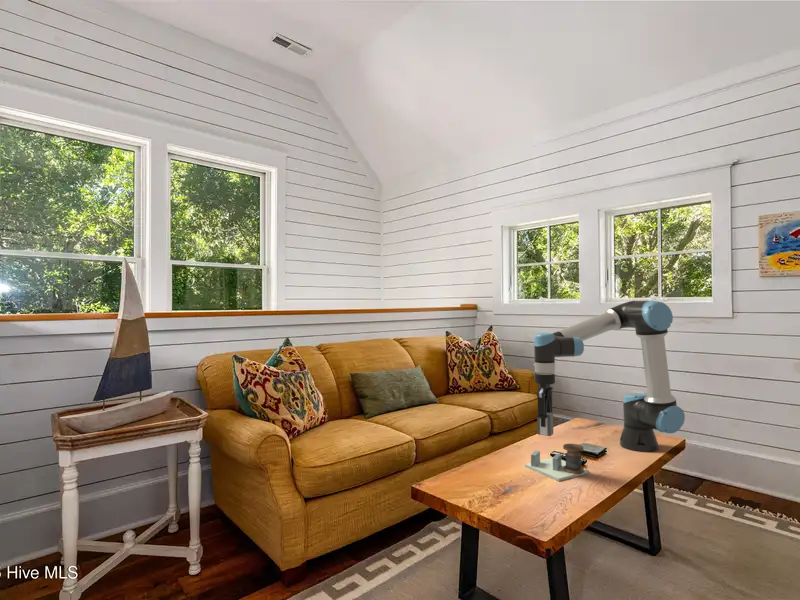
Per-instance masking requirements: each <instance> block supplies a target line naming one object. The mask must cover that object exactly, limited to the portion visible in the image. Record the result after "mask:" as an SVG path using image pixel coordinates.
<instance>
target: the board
mask: <svg viewBox="0 0 800 600" xmlns="http://www.w3.org/2000/svg"><path fill="white" fill-rule="evenodd" d="M553 457H554V456H552V457H548V458H544V459H540V463H539V464H538V465H537V466H536V467H533V466H531V462H528V463H524V467H525V468H527V469H529V470H532V471H534V472H537V473H539V474H541V475H543V476H545V477H547V478H550V479H552V480H555V481H557V482H561V481H565V480H568V479H572V478H576V477H579V476H583V475H587V474H590V469H587V468H584V467H583V468H584V472H583V473H581V474H572V473H568V472H566V471H564V466H566V460H564V459H561V463H562V466H561V467H560V469H559V470H558V471H555V470H553Z"/></svg>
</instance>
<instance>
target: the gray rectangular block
mask: <svg viewBox="0 0 800 600" xmlns="http://www.w3.org/2000/svg"><path fill="white" fill-rule="evenodd" d="M537 416H538V413H537V415H536V420H537V421H536V422H537V425H536V426H537V435H539V436H541V435H540V418H538V417H537ZM547 419H548V435H544V436H545V437H551V436H553V435H554V413H553V412H551V413H548V412H547Z"/></svg>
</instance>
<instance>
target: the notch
mask: <svg viewBox="0 0 800 600" xmlns="http://www.w3.org/2000/svg"><path fill="white" fill-rule="evenodd" d="M552 457H553V470H555V471H558V470H559V469H560V467H561V466H562V463H561V460H562V454H561V453H556V454H555V455H554V456H552ZM540 460H541V451H540V450H534V451H533V452H532V453H531V454H530V463H531V466H533V467H536V466H537V465H538V464H539V463H540Z"/></svg>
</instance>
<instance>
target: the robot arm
mask: <svg viewBox="0 0 800 600" xmlns="http://www.w3.org/2000/svg"><path fill="white" fill-rule="evenodd" d="M673 318H674V317H673V312H672V309H671V308H670V306H668V305H667V304H666V303H665V302H662V301H659V300H629V301H627V302H622V303H621V304H618V305H615V306H612V307H610V308H608V309H606V310H605V311H604V313H601V314H599V315H597V316H594V317H591V318H588V319H586V320H584V321H581V322H578V323H576V324H574V325H570V326H569V327H566V328H562V329H561V330H558V331H555V332H553V333H550V332H538V333H535V334H534V340H533V346H534V347H533V349H534V353H533V354H534V363H533V367H534V372H535V373H534V383H535V384H539V387H538V391H537V393H536V396H537V414H538V416H537V415H536V418H537V417H538V418H540V435H539V436H545V435H548V419H547V412H548V413H553V390H554V389H553V386H551V385H554V384H555V383H556V375H555V373H556V361H555V360H556V358H561V357H562V358H565V357H568V358H570V357H572V358H574V357H579V356H582V354H583V353H584V351H585V347H584V346H585V344H584V341H585V340H588V339H591V338H594V337H596V336H600V335H601V334H605V333H606V332H609V331H612V330H613V331H618V330H621V329H626V328H628V329H629V328H631V329H634V330H635V336H637V337H638V338H640V343H641V350H642V360H643V368H644V375H645V384H646V392H647V393H628V394H625V395H624V396H623V402H622V404H623V405H622V406H623V408H622V409H623V429H622V431H621V435H620V438H619V445H620V447H622V448H624V449H627V450H631V451H635V452H636V451H637V452H655V451H657V450H658V449H659V442H658V439H657V436H656V434H655V431H654V430H656V431H658V432H660V433H665V434H674V433H676V432H678V431H679V430H681V428H682V427H683V426H684V424H685V419H686V415H685V411H684V410H683V409H682V407H680V406H678V405H677V399H676V397H675V396H674V395H673V394H672V390H671V384H670V383H671V382H670V375H669V368H668V359H667V350H666V349H667V348H666V343H665V342H666V341H665V336H666V335H667V334H668V329H669V328H670V327H671V324H672V323H673Z"/></svg>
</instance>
